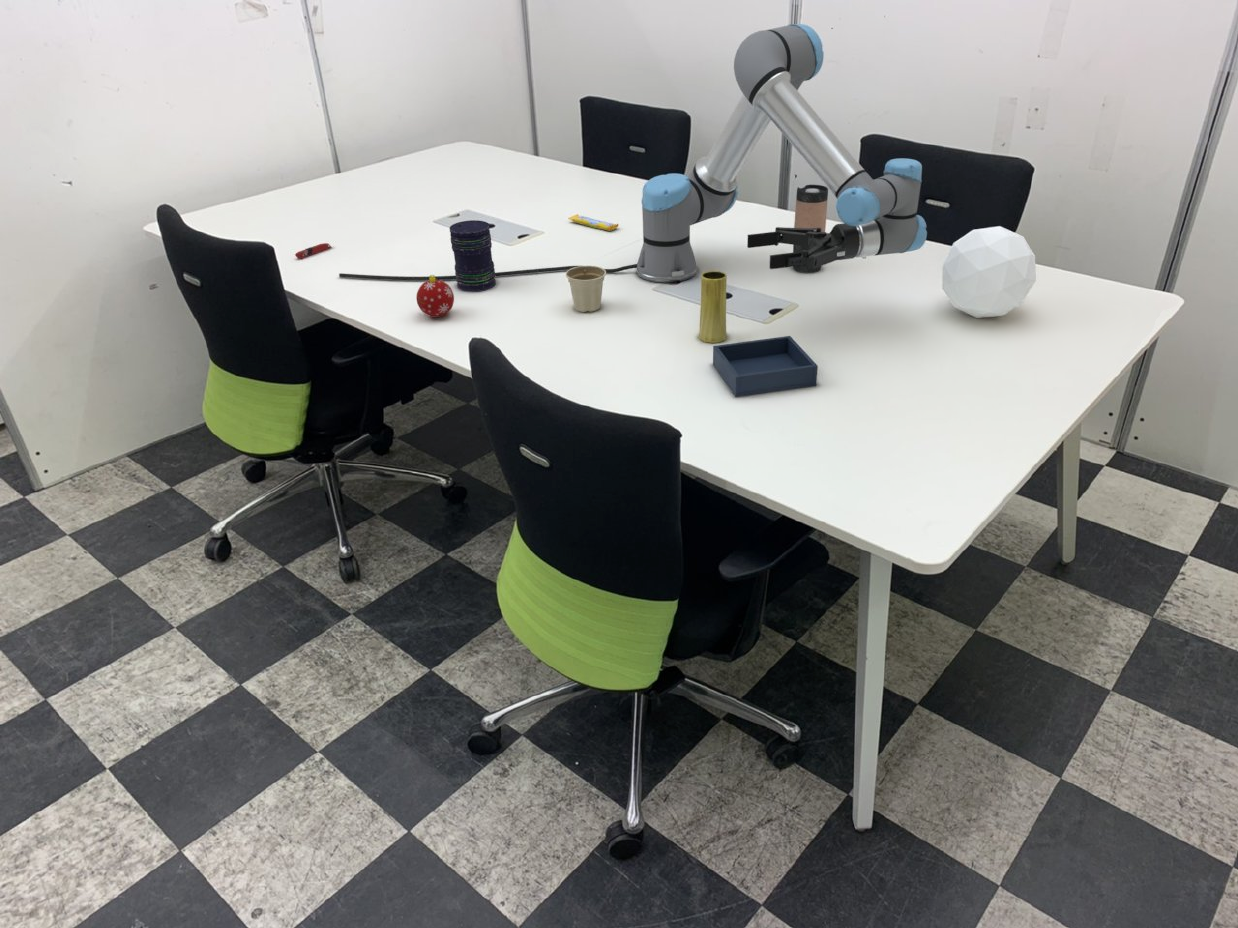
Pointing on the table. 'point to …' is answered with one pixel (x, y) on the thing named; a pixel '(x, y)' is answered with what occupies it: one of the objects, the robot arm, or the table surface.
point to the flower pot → (586, 287)
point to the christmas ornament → (435, 297)
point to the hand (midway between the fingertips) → (758, 251)
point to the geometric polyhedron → (988, 272)
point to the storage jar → (472, 255)
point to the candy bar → (593, 223)
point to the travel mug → (810, 215)
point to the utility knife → (312, 250)
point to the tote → (764, 366)
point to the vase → (713, 307)
